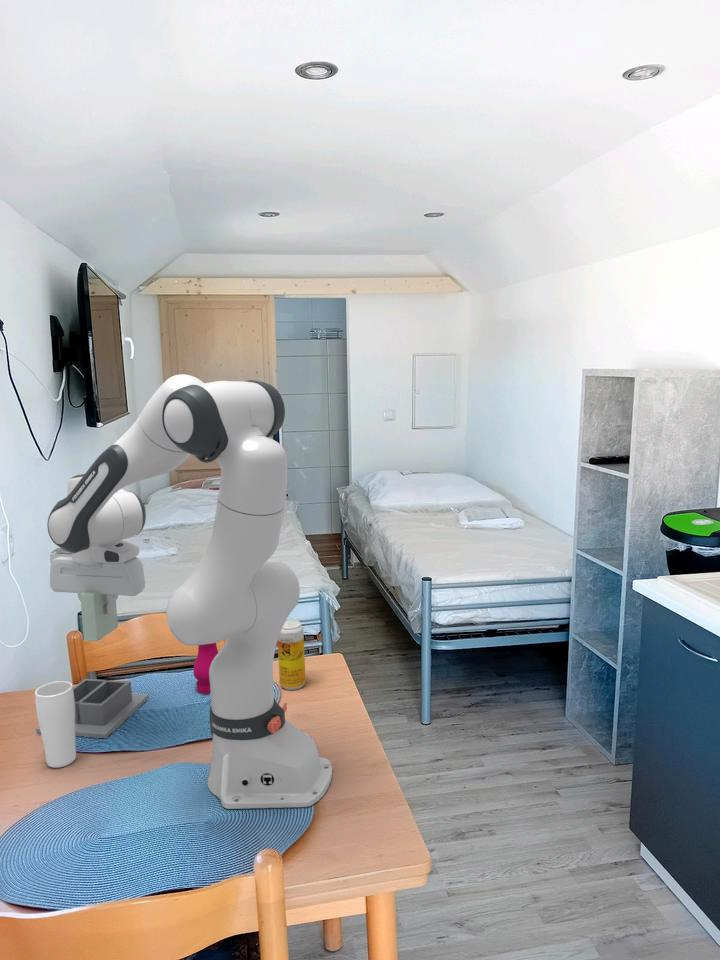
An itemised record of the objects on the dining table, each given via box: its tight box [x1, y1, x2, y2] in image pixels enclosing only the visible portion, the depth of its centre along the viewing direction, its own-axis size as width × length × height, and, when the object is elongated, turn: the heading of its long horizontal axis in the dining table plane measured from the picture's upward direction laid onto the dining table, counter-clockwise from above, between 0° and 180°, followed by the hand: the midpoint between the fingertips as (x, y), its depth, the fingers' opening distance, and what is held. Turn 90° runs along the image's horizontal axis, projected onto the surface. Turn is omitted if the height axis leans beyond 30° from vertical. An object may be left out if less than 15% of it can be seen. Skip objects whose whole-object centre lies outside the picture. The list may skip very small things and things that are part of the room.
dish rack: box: [35, 678, 150, 739], centre depth 154 cm, size 16×18×6 cm
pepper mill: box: [192, 642, 219, 695], centre depth 164 cm, size 7×7×20 cm
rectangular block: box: [79, 591, 119, 642], centre depth 149 cm, size 3×8×10 cm, turn 168°
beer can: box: [277, 619, 307, 691], centre depth 165 cm, size 6×6×15 cm
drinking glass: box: [34, 680, 77, 769], centre depth 135 cm, size 7×7×15 cm
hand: (99, 612), depth 149 cm, fingers closed on rectangular block, 3 cm apart
